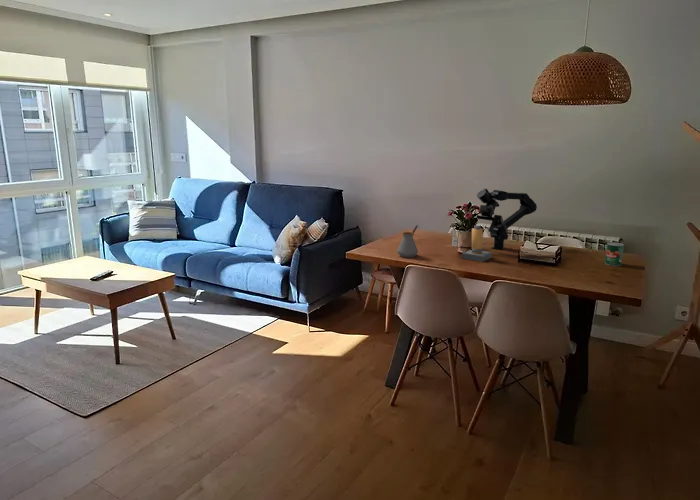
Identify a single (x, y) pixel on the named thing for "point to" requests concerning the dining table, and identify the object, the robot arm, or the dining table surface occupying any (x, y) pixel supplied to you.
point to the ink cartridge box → (454, 239)
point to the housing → (477, 239)
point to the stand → (477, 256)
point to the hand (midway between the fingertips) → (481, 230)
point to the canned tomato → (614, 253)
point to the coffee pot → (408, 245)
